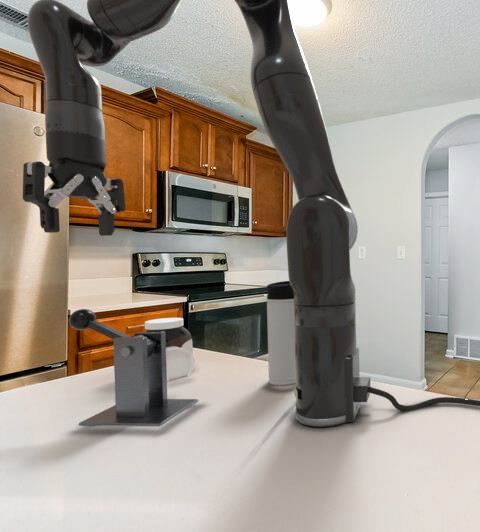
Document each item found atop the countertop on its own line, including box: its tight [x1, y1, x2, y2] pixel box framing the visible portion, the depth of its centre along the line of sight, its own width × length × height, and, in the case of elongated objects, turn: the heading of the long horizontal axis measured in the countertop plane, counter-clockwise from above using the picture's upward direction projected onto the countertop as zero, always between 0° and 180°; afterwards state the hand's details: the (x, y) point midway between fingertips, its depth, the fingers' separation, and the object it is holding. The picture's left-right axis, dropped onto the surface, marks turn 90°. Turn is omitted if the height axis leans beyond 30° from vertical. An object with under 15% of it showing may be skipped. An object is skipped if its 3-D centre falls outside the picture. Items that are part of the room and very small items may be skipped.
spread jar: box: [144, 317, 196, 383], centre depth 76 cm, size 12×11×12 cm
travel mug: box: [266, 280, 296, 387], centre depth 71 cm, size 6×7×20 cm
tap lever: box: [68, 308, 157, 357], centre depth 57 cm, size 13×3×3 cm, turn 88°
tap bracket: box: [78, 331, 199, 427], centre depth 57 cm, size 12×9×13 cm
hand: (80, 234), depth 62 cm, fingers open, 8 cm apart
